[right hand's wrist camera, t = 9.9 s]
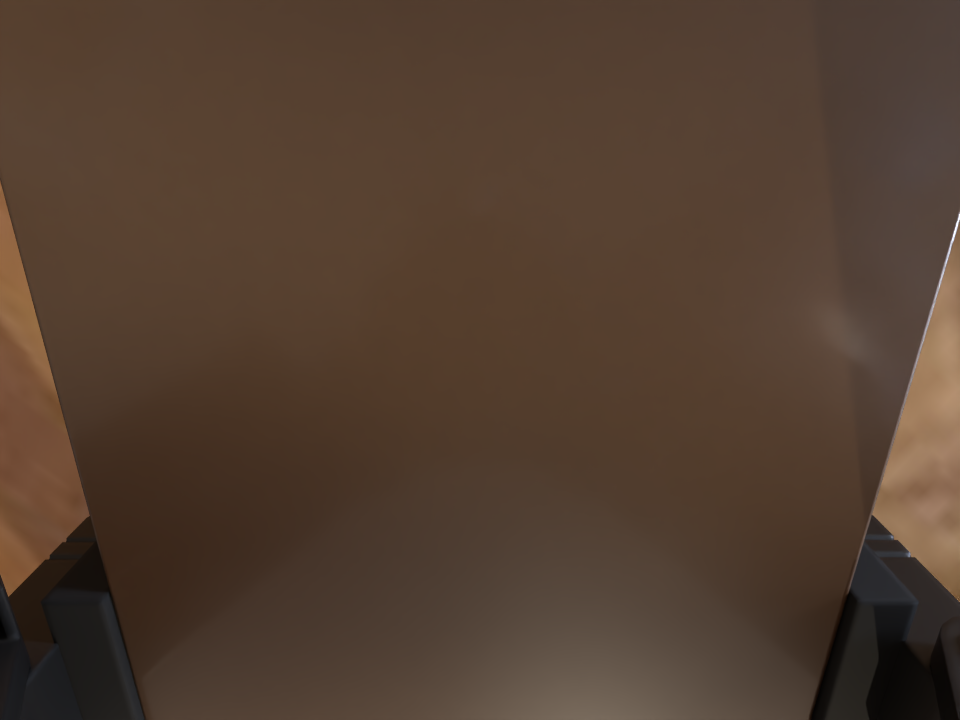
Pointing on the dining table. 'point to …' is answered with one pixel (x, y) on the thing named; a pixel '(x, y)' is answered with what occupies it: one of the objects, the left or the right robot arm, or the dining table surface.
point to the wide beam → (481, 336)
